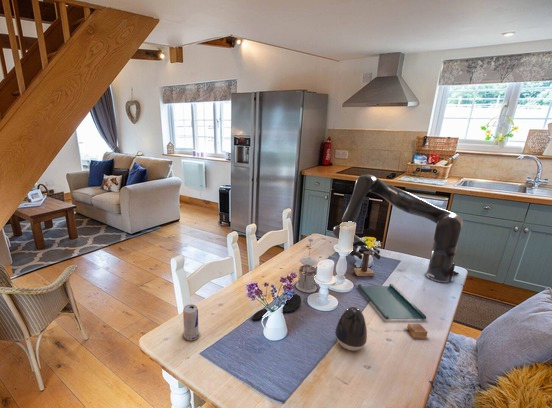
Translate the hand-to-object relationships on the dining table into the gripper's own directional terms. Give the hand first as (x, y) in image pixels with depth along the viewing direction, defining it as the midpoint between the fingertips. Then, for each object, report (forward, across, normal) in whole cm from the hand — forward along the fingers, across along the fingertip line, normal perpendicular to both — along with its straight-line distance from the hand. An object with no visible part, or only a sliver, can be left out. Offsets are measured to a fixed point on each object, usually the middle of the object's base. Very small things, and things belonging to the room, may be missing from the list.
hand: (370, 257), depth 148 cm
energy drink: (+39, -85, +12) cm, 94 cm away
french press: (+6, -32, +12) cm, 35 cm away
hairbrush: (+24, -50, +12) cm, 56 cm away
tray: (+19, 0, +12) cm, 23 cm away
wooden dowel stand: (-4, 0, +12) cm, 13 cm away
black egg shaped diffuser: (+44, -28, +12) cm, 53 cm away
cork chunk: (+39, 0, +12) cm, 41 cm away
